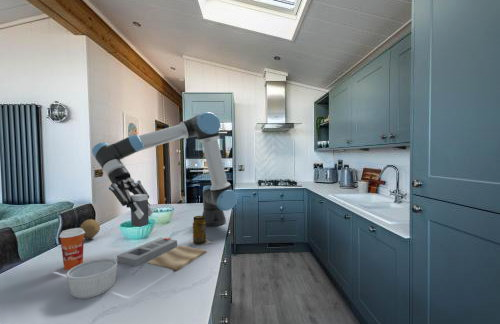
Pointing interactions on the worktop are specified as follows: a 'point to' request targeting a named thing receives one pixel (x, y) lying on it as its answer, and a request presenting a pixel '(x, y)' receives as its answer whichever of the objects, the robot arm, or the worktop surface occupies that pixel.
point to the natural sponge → (90, 228)
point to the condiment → (199, 231)
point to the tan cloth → (177, 257)
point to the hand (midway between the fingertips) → (146, 215)
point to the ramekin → (92, 277)
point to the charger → (143, 205)
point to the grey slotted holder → (146, 251)
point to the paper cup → (72, 247)
